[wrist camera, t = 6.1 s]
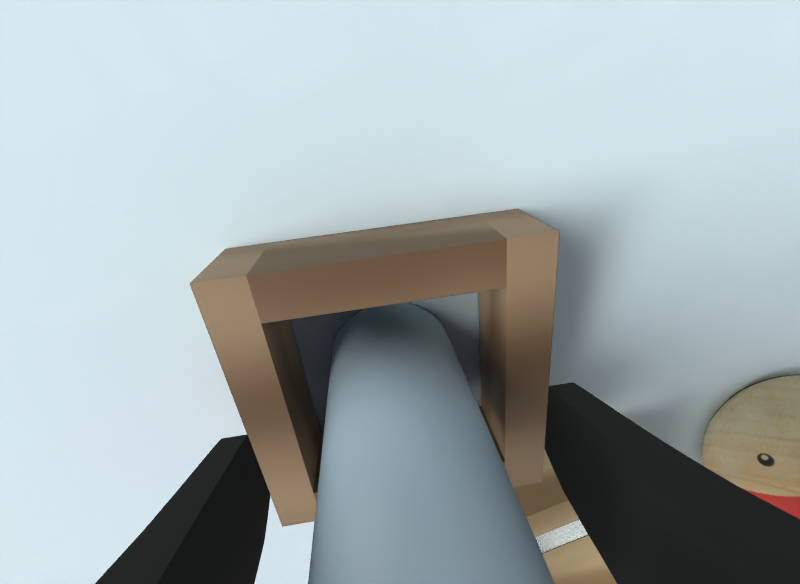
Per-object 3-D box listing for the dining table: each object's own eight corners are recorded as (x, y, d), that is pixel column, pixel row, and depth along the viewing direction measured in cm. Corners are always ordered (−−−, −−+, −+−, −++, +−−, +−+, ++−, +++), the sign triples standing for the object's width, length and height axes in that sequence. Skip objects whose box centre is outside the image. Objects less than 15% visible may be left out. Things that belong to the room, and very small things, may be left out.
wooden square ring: (513, 426, 15) (541, 482, 12) (294, 461, 14) (282, 526, 12) (517, 208, 11) (559, 231, 9) (225, 248, 11) (189, 283, 8)
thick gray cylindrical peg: (447, 398, 14) (547, 707, 6) (335, 405, 13) (312, 744, 6) (453, 299, 12) (600, 565, 5) (327, 304, 12) (281, 604, 4)
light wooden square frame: (634, 532, 18) (673, 590, 16) (475, 595, 19) (491, 658, 17) (594, 418, 15) (636, 471, 13) (402, 501, 16) (410, 565, 13)
